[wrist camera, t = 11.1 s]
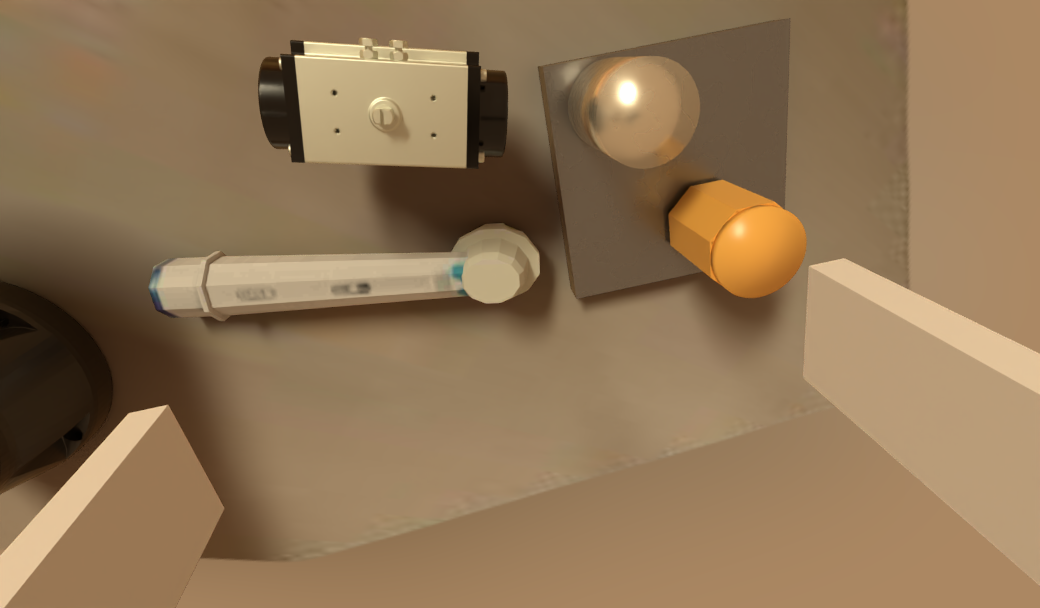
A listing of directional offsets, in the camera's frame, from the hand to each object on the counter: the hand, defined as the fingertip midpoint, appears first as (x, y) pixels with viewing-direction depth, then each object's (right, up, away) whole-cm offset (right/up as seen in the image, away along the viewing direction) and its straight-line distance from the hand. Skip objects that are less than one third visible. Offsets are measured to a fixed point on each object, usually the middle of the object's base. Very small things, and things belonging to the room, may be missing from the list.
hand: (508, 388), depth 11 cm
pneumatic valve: (-7, +15, +24) cm, 29 cm away
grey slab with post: (+11, +12, +28) cm, 32 cm away
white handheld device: (-11, +5, +29) cm, 31 cm away
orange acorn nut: (+14, +8, +27) cm, 31 cm away
